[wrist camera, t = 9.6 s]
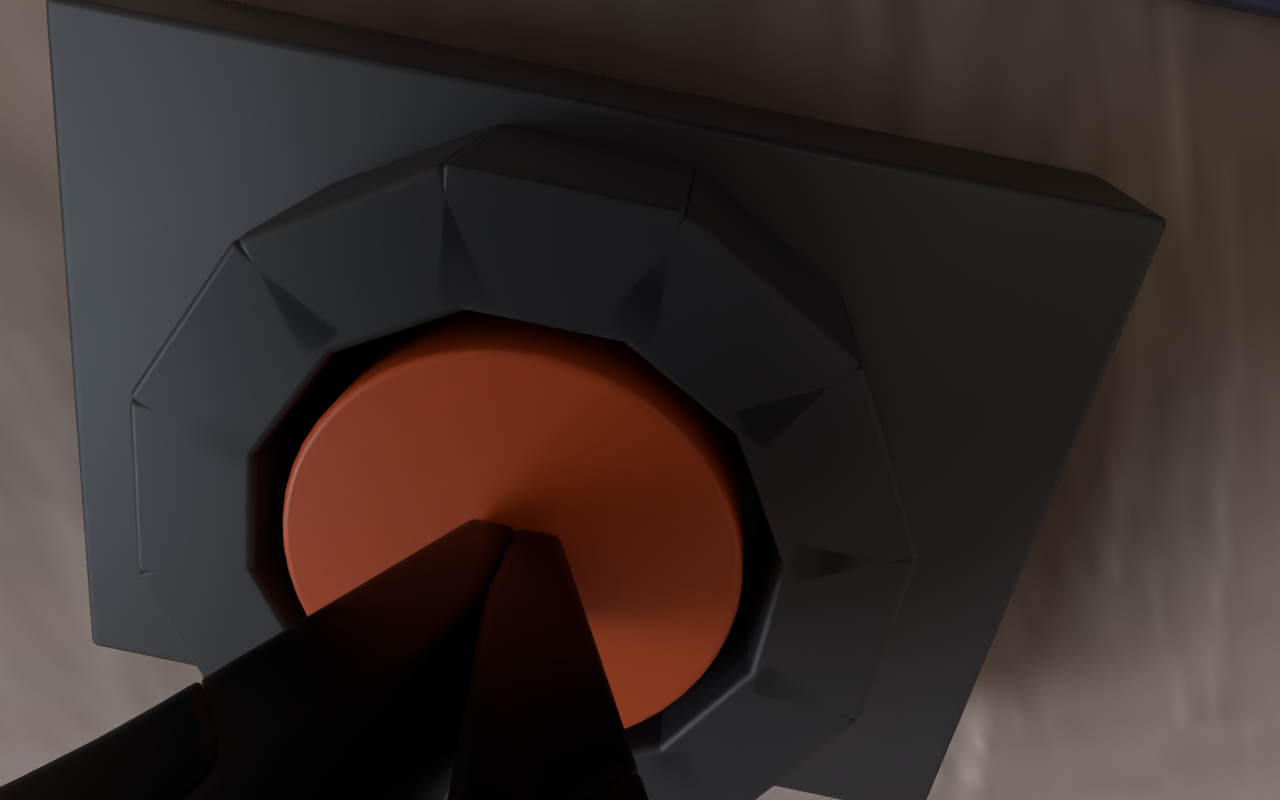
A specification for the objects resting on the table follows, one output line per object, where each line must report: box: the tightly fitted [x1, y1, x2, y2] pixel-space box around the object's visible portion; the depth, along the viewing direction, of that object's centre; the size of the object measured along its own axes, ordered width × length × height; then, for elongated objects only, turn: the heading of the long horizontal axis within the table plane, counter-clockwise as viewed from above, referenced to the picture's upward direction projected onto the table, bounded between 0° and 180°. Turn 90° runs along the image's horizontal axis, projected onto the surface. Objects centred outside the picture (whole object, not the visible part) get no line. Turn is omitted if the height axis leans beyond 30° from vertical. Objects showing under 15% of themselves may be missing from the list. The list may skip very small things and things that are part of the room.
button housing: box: [46, 0, 1166, 800], centre depth 11 cm, size 11×8×4 cm
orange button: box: [283, 310, 743, 729], centre depth 10 cm, size 4×4×2 cm
